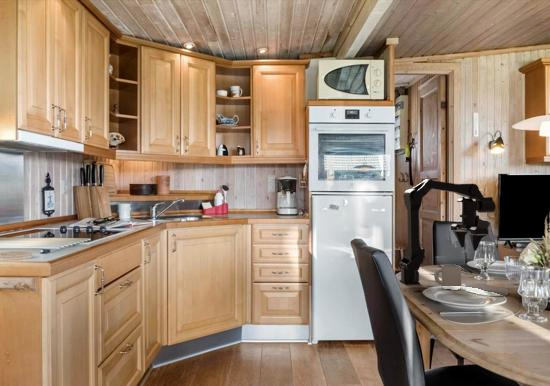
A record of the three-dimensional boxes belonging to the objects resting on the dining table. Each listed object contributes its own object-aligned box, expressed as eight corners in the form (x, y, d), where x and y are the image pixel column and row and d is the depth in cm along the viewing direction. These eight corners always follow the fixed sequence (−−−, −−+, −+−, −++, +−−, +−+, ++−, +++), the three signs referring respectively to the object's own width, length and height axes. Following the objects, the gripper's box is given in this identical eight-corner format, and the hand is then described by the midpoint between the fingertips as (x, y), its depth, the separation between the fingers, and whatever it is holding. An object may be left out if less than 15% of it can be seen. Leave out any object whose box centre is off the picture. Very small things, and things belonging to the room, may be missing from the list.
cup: (462, 291, 161) (462, 268, 161) (435, 289, 164) (435, 267, 164) (459, 286, 168) (459, 265, 168) (433, 285, 171) (433, 263, 171)
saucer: (480, 298, 152) (480, 295, 152) (457, 288, 167) (457, 285, 167) (517, 296, 154) (517, 293, 154) (491, 286, 169) (491, 284, 169)
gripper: (500, 214, 169) (500, 252, 169) (473, 211, 187) (472, 245, 188) (475, 214, 167) (475, 252, 168) (450, 211, 186) (450, 245, 186)
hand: (468, 248), depth 177 cm, fingers open, 9 cm apart
